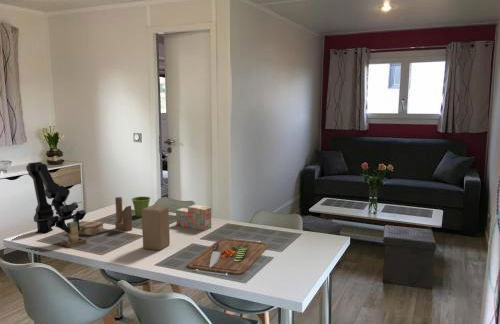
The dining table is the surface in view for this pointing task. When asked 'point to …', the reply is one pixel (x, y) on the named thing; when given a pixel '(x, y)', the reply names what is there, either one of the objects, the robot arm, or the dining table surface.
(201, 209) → the stack of blocks
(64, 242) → the frame
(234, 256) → the chopping board
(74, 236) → the teal long block
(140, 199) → the plant pot
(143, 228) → the wooden block
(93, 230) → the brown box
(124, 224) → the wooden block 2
